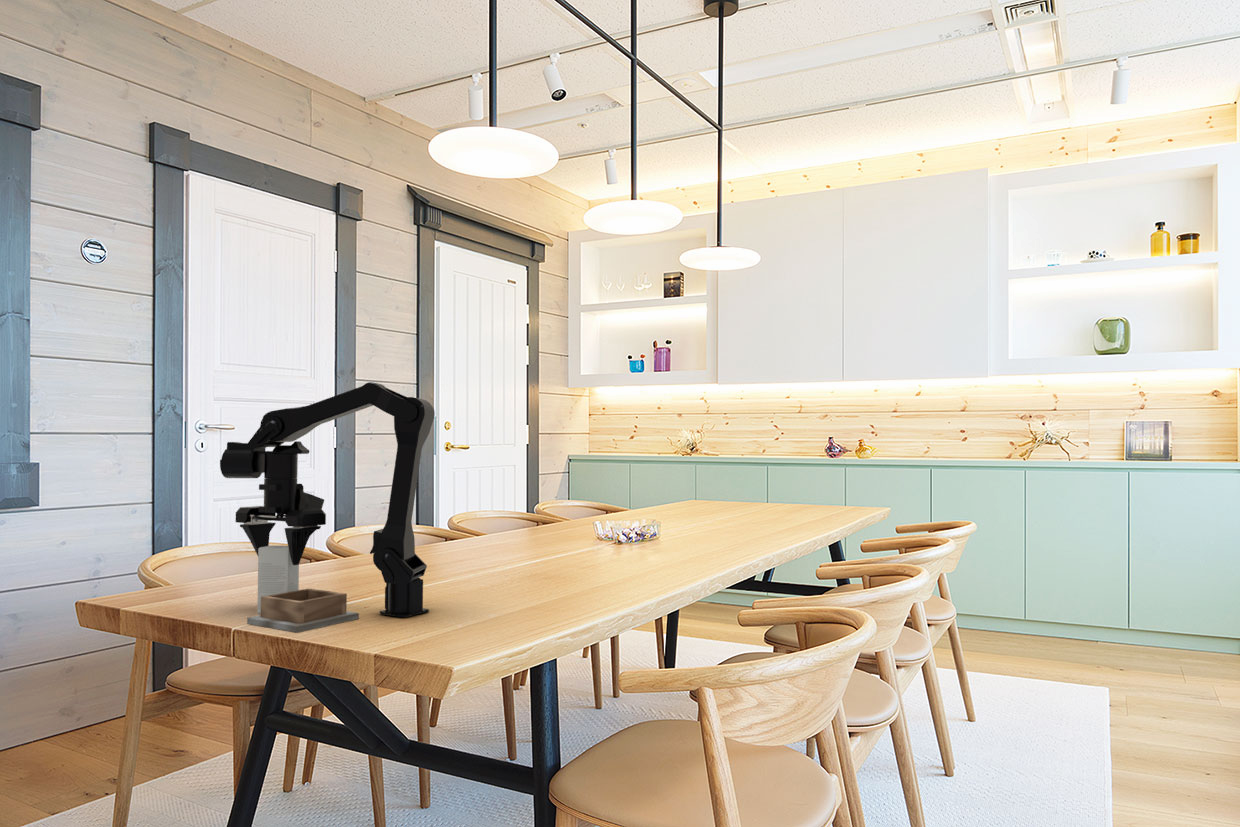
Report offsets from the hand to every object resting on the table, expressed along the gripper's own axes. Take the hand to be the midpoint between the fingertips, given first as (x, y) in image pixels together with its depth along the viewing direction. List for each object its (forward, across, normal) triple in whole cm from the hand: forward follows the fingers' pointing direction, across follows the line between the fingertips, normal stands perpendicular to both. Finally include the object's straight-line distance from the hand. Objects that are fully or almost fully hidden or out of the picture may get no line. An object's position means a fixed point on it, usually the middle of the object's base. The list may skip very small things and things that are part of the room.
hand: (279, 563), depth 154 cm
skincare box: (+9, 0, 0) cm, 9 cm away
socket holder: (+9, -11, +3) cm, 14 cm away
